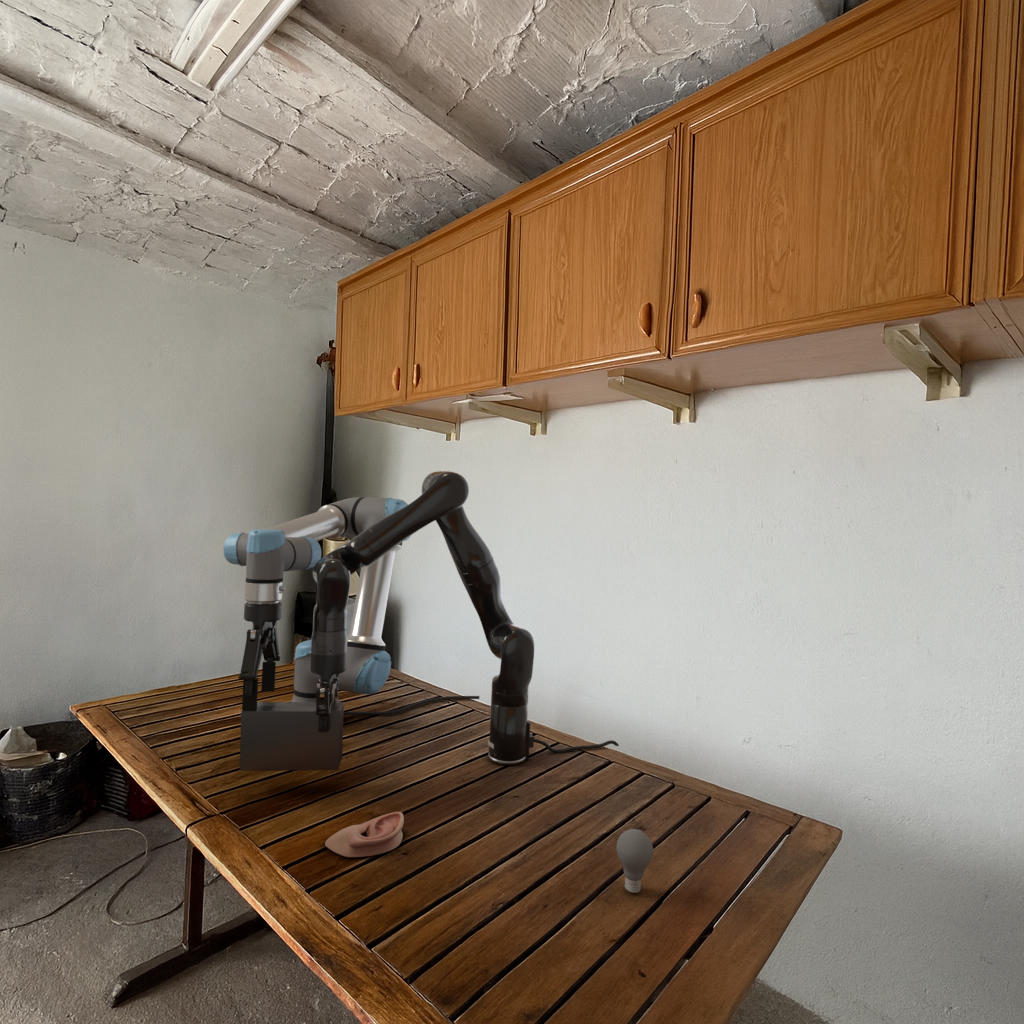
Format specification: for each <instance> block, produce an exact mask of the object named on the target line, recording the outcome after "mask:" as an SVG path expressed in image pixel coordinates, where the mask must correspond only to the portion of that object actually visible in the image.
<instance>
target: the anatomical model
mask: <svg viewBox="0 0 1024 1024" xmlns="http://www.w3.org/2000/svg"><path fill="white" fill-rule="evenodd" d="M404 823H405V818H404V814H403V812H401V811H393V812H390V813H386V814H383V815H380V816H377V817H375V818H372V819H370V820H368V821H365V822H362V823H360V824H353V825H350V826H349V825H348V826H347V827H344V828H342V829H340V830H339V831H337V832H335V833H334V834H332V835H331V836H329V837H328V839H326V841H325V843H324V845H325V847H326V848H327V849H328V850H330V851H332V852H334V853H335V854H337V855H340V856H342V857H345V858H362V857H363V858H364V857H371V856H376V855H381V854H385V853H387V852H390V851H393V850H394V849H396V848H397V847H399V846H400V845H401V843H402V840H403V835H404V834H403V831H402V829H403V828H404Z"/></svg>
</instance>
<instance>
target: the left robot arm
mask: <svg viewBox="0 0 1024 1024" xmlns="http://www.w3.org/2000/svg"><path fill="white" fill-rule="evenodd" d="M407 505H409V504H408V503H407V502H406V501H405V500H403V499H400V498H393V497H368V496H367V497H366V496H355V497H354V496H353V497H348V498H345V499H341V500H338V501H335V502H332V503H328V504H325V505H322V506H321V507H320V508H319V509H318V510H317V511H316V512H313V513H310V514H307V515H303V516H301V517H297V518H295V519H292V520H288V521H286V522H282V523H279V524H276V525H273V526H270V527H267V528H255V529H251V530H250V531H249V532H248V533H245V532H239V533H238V532H237V533H236V532H235V533H232V534H230V535H229V536H228V537H227V538H226V539H225V541H224V543H223V546H222V547H223V548H222V549H223V557H224V558H225V561H227V562H228V563H230V564H231V565H238V566H240V567H245V568H246V569H245V581H244V600H245V601H246V602H245V603H244V607H243V619H244V620H245V621H246V622H251V623H252V629H247V630H246V638H245V640H246V641H245V644H244V645H245V646H244V650H243V657H242V663H241V669H240V673H239V675H238V680H239V681H242V701H241V702H242V704H241V711H257V702H258V694H259V678H258V674H259V670H260V669H259V668H260V666H261V665H260V664H261V662H262V667H261V669H262V670H261V689H260V690H261V692H268V693H269V692H271V693H272V692H273V693H274V692H275V690H276V670H277V668H276V667H277V662H280V660H281V656H280V649H279V641H278V639H279V638H278V631H277V629H278V628H277V623H278V621H280V620H281V619H282V615H283V614H282V613H283V603H282V602H281V601H282V600H283V592H285V591H286V587H285V586H283V583H284V572H293V571H305V570H308V569H313V568H314V566H315V564H316V563H317V562H318V561H319V560H320V559H321V558H322V548H321V545H320V543H319V542H320V541H321V540H322V541H323V540H324V539H326V538H328V539H337V538H339V537H354V538H355V537H356V536H358V535H359V534H360V533H361V532H363V531H364V530H366V529H367V528H368V527H370V526H371V525H373V524H374V523H376V522H378V521H379V520H381V519H383V518H385V517H387V516H389V515H391V514H393V513H395V512H397V511H399V510H400V509H402V508H404V507H406V506H407ZM410 538H411V536H410V537H408V538H407V539H405V540H404V541H403V542H406V541H408V540H410ZM403 542H401V543H400V544H398V545H397V546H396V547H394V548H393V549H392V550H390V551H389V552H388V553H386V554H385V555H384V556H382V557H381V558H380V559H378V560H376V562H374V563H373V564H371V565H369V566H366V567H362V568H360V574H359V578H358V585H357V589H356V596H355V601H354V607H353V613H352V619H351V624H350V630H349V634H347V667H346V670H345V671H344V672H343V673H340V674H339V684H338V691H342V692H343V691H344V692H347V693H355V694H356V695H374V694H376V693H378V692H379V691H380V690H381V689H382V688H383V687H384V685H385V684H386V682H387V680H388V678H389V676H390V672H391V668H392V660H391V656H390V655H391V654H389V653H388V652H387V651H386V643H385V642H384V641H383V639H382V636H383V635H382V634H383V630H384V624H385V617H386V610H387V605H388V600H389V595H390V594H389V593H390V587H391V580H392V575H393V570H394V563H395V556H396V553H397V552H398V551H400V550H402V547H403ZM294 653H295V654H294V658H293V660H294V670H293V671H294V672H293V695H292V696H293V697H292V699H291V702H316V689H317V683H318V682H319V681H320V678H321V676H320V675H318V674H314V673H312V672H311V670H310V666H311V639H307V640H304V641H302V642H299V643H298V644H297V645H296V647H295V652H294ZM262 658H263V661H262ZM336 700H337V702H340V699H339V696H338V697H337V698H336ZM451 700H480V695H453V696H452V695H451V696H440V697H434V698H429V699H425V700H421V701H418V702H414V703H411V704H408V705H406V706H403V707H400V708H397V709H394V710H386V711H344V714H343V716H389V715H395V714H399V713H402V712H405V711H406V710H409V709H413V708H416V707H419V706H422V705H425V704H428V703H433V702H440V701H451Z"/></svg>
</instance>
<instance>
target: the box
mask: <svg viewBox="0 0 1024 1024" xmlns="http://www.w3.org/2000/svg"><path fill="white" fill-rule="evenodd" d="M344 708H345V702H343V701H339V702H334V703H333V704H332V705H331V714H330V730H329V732H328V733H319V731H318V725H319V715H316V702H292V701H257V711H242V710H241V711H240V741H239V742H240V743H239V772H269V771H270V772H272V771H274V772H275V771H277V772H279V771H281V772H283V771H338V770H339V768H340V766H341V762H342V760H343V746H344V745H343V741H344V715H343V714H344V712H345V711H344V710H345V709H344ZM321 709H326V705H322V708H321Z"/></svg>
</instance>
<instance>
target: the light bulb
mask: <svg viewBox="0 0 1024 1024" xmlns="http://www.w3.org/2000/svg"><path fill="white" fill-rule="evenodd" d="M615 849H616V854H617V857H618V859H619V861H620V863H621V865H622V867H623V873H624V874H623V875H624V876H625V878H624V888H625V890H627V891H628V892H630V893H634V894H635V893H639V892H640V891H641V889H642V887H641V886H642V879H643V877H644V875H645V871H646V868H647V867H648V866H649V864H650V863H651V861H652V859H653V855H654V847H653V843H652V841H651V838H649V836H648V835H647V834H646V833H645V832H643V831H642V830H641V829H636V828H629V829H627V830H625V831H623V832H622V833H621V834H620V835H619V837H618V839H617V841H616V847H615Z"/></svg>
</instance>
